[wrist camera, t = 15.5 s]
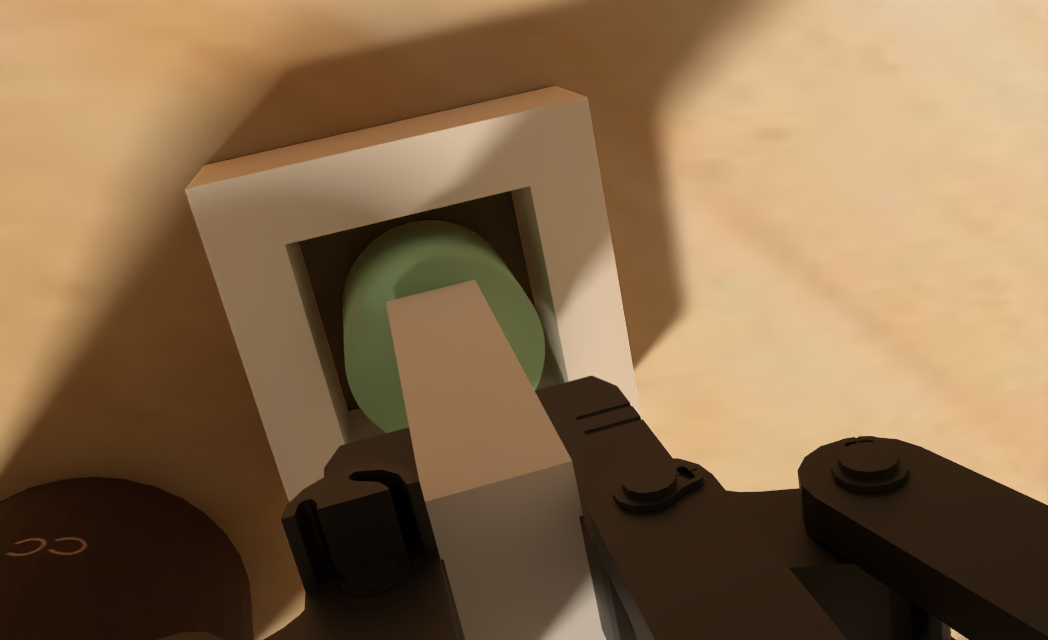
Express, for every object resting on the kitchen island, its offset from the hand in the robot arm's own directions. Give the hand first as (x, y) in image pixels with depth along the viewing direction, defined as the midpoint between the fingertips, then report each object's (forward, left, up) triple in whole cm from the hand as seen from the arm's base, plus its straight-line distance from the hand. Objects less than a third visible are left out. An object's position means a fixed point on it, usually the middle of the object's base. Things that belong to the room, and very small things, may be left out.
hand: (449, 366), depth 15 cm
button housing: (0, 0, -4) cm, 4 cm away
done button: (0, 0, -3) cm, 3 cm away
